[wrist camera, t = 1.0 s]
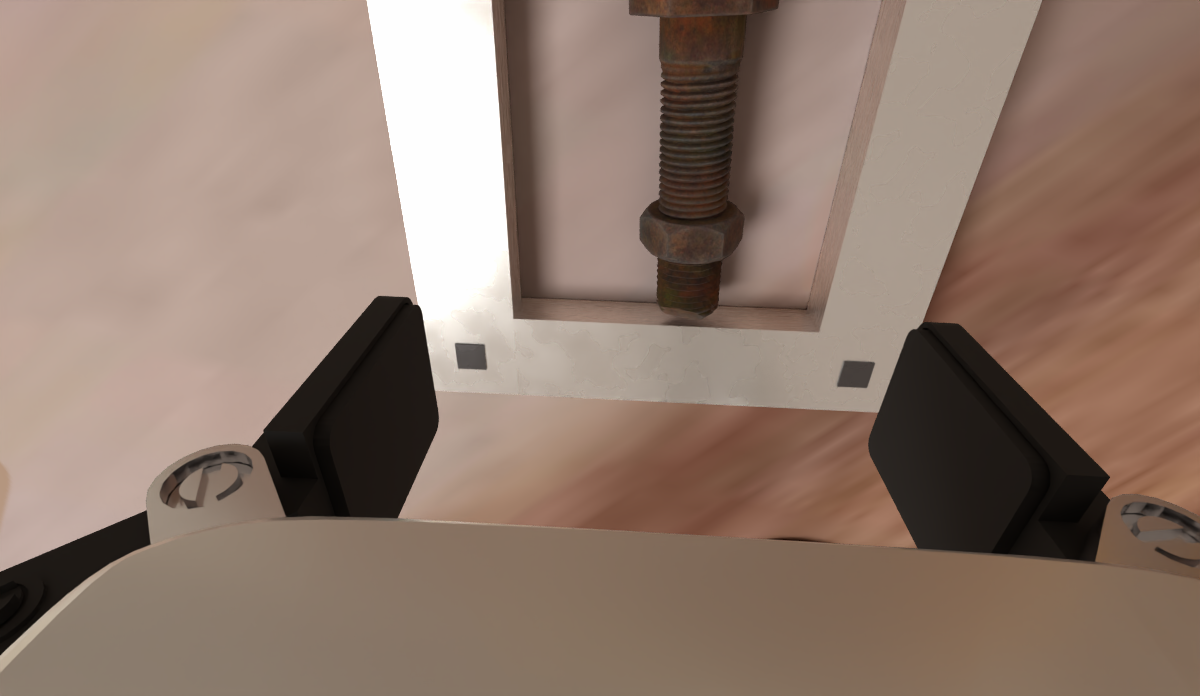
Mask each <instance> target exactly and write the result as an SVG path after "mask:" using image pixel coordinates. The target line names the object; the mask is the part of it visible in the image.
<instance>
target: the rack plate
mask: <svg viewBox="0 0 1200 696" xmlns="http://www.w3.org/2000/svg"><path fill="white" fill-rule="evenodd" d="M367 3H368V9H369V15H370V21H371V27H372V33H373V39H374V45H375V51H376V57H377V63H378V69H379V74H380V80H381V86H382V92H383V98H384V104H385V110H386V116H387V122H388V128H389V134H390V140H391V146H392V152H393V158H394V164H395V170H396V176H397V181H398V187H399V193H400V199H401V205H402V211H403V217H404V223H405V229H406V235H407V241H408V247H409V253H410V259H411V265H412V271H413V277H414V283H415V288H416V294H417V300H418V305H419V306H420V308H421V310H422V314H423V320H424V326H425V333H426V339H427V345H428V351H429V357H430V364H431V370H432V376H433V382H434V389H435V391H451V392H471V393H492V394H512V395H533V396H553V397H573V398H594V399H614V400H635V401H655V402H675V403H696V404H716V405H736V406H757V407H777V408H798V409H818V410H838V411H859V412H879V410H880V407H881V404H882V401H883V399H884V396H885V393H886V391H887V388H888V385H889V383H890V380H891V377H892V374H893V372H894V369H895V366H896V364H897V361H898V358H899V356H900V353H901V350H902V348H903V345H904V342H905V339H906V337H907V335H908V333H909V332H910V331H911V330H913V329H917V328H918V327H919V326H920V325H921V324H922V322H923V320H924V317H925V314H926V312H927V309H928V306H929V303H930V301H931V298H932V295H933V293H934V290H935V287H936V285H937V282H938V279H939V277H940V274H941V271H942V269H943V266H944V263H945V261H946V258H947V255H948V252H949V250H950V247H951V244H952V242H953V239H954V236H955V234H956V231H957V228H958V226H959V223H960V220H961V218H962V215H963V212H964V209H965V207H966V204H967V201H968V199H969V196H970V193H971V191H972V188H973V185H974V183H975V180H976V177H977V175H978V172H979V169H980V167H981V164H982V161H983V158H984V156H985V153H986V150H987V148H988V145H989V142H990V140H991V137H992V134H993V132H994V129H995V126H996V124H997V121H998V118H999V116H1000V113H1001V110H1002V107H1003V105H1004V102H1005V99H1006V97H1007V94H1008V91H1009V89H1010V86H1011V83H1012V81H1013V78H1014V75H1015V73H1016V70H1017V67H1018V65H1019V62H1020V59H1021V56H1022V54H1023V51H1024V48H1025V46H1026V43H1027V40H1028V38H1029V35H1030V32H1031V30H1032V27H1033V24H1034V22H1035V19H1036V16H1037V13H1038V11H1039V8H1040V5H1041V3H1042V0H882V4H881V8H880V12H879V16H878V20H877V24H876V28H875V32H874V37H873V41H872V45H871V49H870V53H869V57H868V61H867V65H866V69H865V73H864V77H863V82H862V86H861V90H860V94H859V98H858V102H857V106H856V110H855V114H854V118H853V123H852V127H851V131H850V135H849V139H848V143H847V147H846V151H845V155H844V159H843V163H842V168H841V172H840V176H839V180H838V184H837V188H836V192H835V196H834V200H833V204H832V208H831V213H830V217H829V221H828V225H827V229H826V233H825V237H824V241H823V245H822V249H821V253H820V258H819V262H818V266H817V270H816V274H815V278H814V282H813V286H812V290H811V294H810V299H809V303H808V307H807V310H800V309H777V308H754V307H730V306H718V308H717V309H716V310H714V311H713V312H714V313H712V314H710V315H708V316H707V317H705V318H703V319H700V320H694V319H688V318H682V317H677V316H672V315H667V314H665V313H663V312H662V311H661V309H660V308H659V307H660V306H659V305H658V304H657V303H638V302H615V301H592V300H569V299H546V298H523V297H521V283H520V266H519V249H518V232H517V215H516V198H515V181H514V163H513V146H512V129H511V112H510V95H509V78H508V61H507V44H506V27H505V10H504V0H367Z"/></svg>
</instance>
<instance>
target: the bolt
mask: <svg viewBox="0 0 1200 696" xmlns="http://www.w3.org/2000/svg"><path fill="white" fill-rule="evenodd" d="M778 4H779V0H629V14H630V15H638V16H652V17H660V42H659V59H660V61H661V68H662V70H663V72H662V74H661V77H662V78H663V79H665V80H664V81H662V82H661V86H662V87H663V88H665V89H663V90H662V91H661V95H663V96H664V98H662V99H661V100H660V102H661V103H662V104H663V105H664V106H662V107H661V112H662V113H664V114H662V115H661V117H660V119H661V121H662V122H663V123H661V124H660V129H661V130H662V131H661V132H660V137H661V138H662V139H660V144H661V145H662V146H661V147H660V152H662V154H660V156H659V157H660V159H661V160H662V161H661V162H660V163H659V166H660V167H661V169H660V171H659V174H661V176H660V179H659V181H660V182H661V183H660V185H659V188H660V189H661V190H660V191H659V195H660V196H661V197H660V198H659V200H656V201H654V202H653V203H651V204H650V205H649V206H648V207H647V208H646V209H645V211H644V212H643V214H642V215H641V217H640V240H641V242H642V243H643V244H644V246H645V247H646V249H647V250H648V251H649V252H650V253H651V254H653V255H654V256H656V257H658V258H657V259H658V265H657V267H658V269H657V272H658V275H657V278H658V281H657V285H658V286H657V298H658V300H657V304H658V305H659V306H660V307H659V308H660V309H661V311H662V312H663V313H665V314H667V315H672V316H677V317H682V318H688V319H694V320H700V319H703V318H705V317H707V316H708V315H710V314H712V313H714V312H713V311H714V310H716V309H717V308H718V301H719V297H718V296H719V292H718V291H719V284H720V277H721V275H720V273H721V265H722V262H721V261H722V259H724V258H726V257H728V256H729V255H730V254H731V253H732V252H733V251H734V250H735V249H736V247H737V246H738V244H739V242H740V241H741V239H742V235H743V226H744V215H743V213H742V212H741V211H740V210H739V209H738V208H737V207H736V205H734V204H733V203H732V202H730V201H727V199H728V196H727V193H728V191H729V190H728V188H727V187H728V186H729V181H728V179H729V177H730V175H729V171H730V168H731V167H730V162H731V158H730V156H731V154H732V151H731V150H730V149H731V148H732V146H733V144H732V142H731V141H732V139H733V135H732V134H731V133H732V132H733V126H732V124H733V122H734V118H733V116H734V114H735V111H734V109H733V108H734V107H736V102H735V101H734V99H736V98H737V94H736V92H734V91H736V90H737V88H738V85H737V84H736V83H735V82H737V81H738V79H739V78H738V75H736V73H738V72H739V68H740V60H741V59H742V57H743V49H744V39H745V28H746V18H747V14H755V13H760V12H765V11H769V10H774V9H777V8H778Z"/></svg>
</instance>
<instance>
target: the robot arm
mask: <svg viewBox="0 0 1200 696" xmlns="http://www.w3.org/2000/svg"><path fill="white" fill-rule="evenodd" d="M438 422H439V414H438V407H437V401H436V395H435V389H434V382H433V376H432V370H431V364H430V357H429V351H428V345H427V339H426V333H425V326H424V320H423V314H422V310H421V308H420V306H419V305H413V303H412V301H411V299H409V298H408V297H390V296H378V297H376V298H375V299H374V300H373V302H372V303H371V304H370V305H369V306H368V307H367V309H366V310H365V311H364V312H363V313H362V315H361V316H360V317H359V318H358V319H357V320H356V322H355V323H354V324H353V325H352V326H351V328H350V329H349V330H348V331H347V332H346V333H345V335H344V336H343V337H342V338H341V339H340V340H339V342H338V343H337V344H336V345H335V346H334V348H333V349H332V350H331V351H330V352H329V353H328V355H327V356H326V357H325V358H324V359H323V361H322V362H321V363H320V364H319V365H318V366H317V368H316V369H315V370H314V371H313V372H312V373H311V375H310V376H309V377H308V378H307V379H306V381H305V382H304V383H303V384H302V385H301V386H300V388H299V389H298V390H297V391H296V392H295V394H294V395H293V396H292V397H291V398H290V399H289V401H288V402H287V403H286V404H285V405H284V406H283V408H282V409H281V410H280V411H279V412H278V414H277V415H276V416H275V417H274V418H273V419H272V421H271V422H270V423H269V424H268V425H267V426H266V428H265V429H264V430H263V431H264V433H263V434H262V435H261V437H260V438H259V439H258V440H257V441H256V442H255V444H254V445H253V446H252V447H251V446H248V445H241V444H227V445H217V446H214V447H210V448H206V449H202V450H199V451H197V452H195V453H192V454H190V455H188V456H185V457H183V458H182V459H180V460H178V461H177V462H175V463H173V464H172V465H170V466H169V467H167V468H166V469H165V470H164V471H163V472H162V473H161V474H160V475H158V476H157V477H156V478H155V480H154V481H153V483H152V484H151V486H150V487H149V489H148V492H147V497H146V507H147V510H146V511H144V512H142V513H139V514H137V515H134V516H132V517H130V518H127V519H125V520H123V521H120V522H118V523H115V524H113V525H111V526H108V527H106V528H104V529H101V530H99V531H96V532H94V533H92V534H89V535H87V536H84V537H82V538H80V539H77V540H75V541H73V542H70V543H68V544H65V545H63V546H61V547H58V548H56V549H54V550H51V551H49V552H46V553H44V554H42V555H39V556H37V557H35V558H32V559H30V560H27V561H25V562H23V563H20V564H18V565H16V566H13V567H11V568H8V569H6V570H4V571H1V572H0V696H1200V517H1199V516H1198V515H1196V514H1194V513H1192V512H1190V511H1188V510H1186V509H1184V508H1182V507H1179V506H1177V505H1175V504H1172V503H1169V502H1166V501H1164V500H1161V499H1158V498H1154V497H1149V496H1144V495H1139V494H1122V495H1119V496H1116V497H1113V498H1112V499H1111V500H1110V499H1109V498H1108V497H1107V496H1106V495H1105V494H1104V493H1103V492H1102V491H1101V489H1102V488H1103V487H1104V485H1105V484H1106V482H1107V481H1108V479H1109V478H1110V476H1109V475H1108V474H1107V473H1106V472H1105V471H1104V470H1103V469H1102V468H1101V467H1100V466H1099V465H1098V464H1097V463H1096V462H1095V461H1094V460H1093V459H1092V458H1091V457H1090V456H1089V455H1088V454H1087V453H1086V452H1085V451H1084V450H1083V449H1082V448H1081V447H1080V446H1079V445H1078V444H1077V443H1076V442H1075V441H1074V440H1073V439H1072V438H1071V437H1070V436H1069V435H1068V434H1067V433H1066V432H1065V431H1064V430H1063V429H1062V428H1061V427H1060V426H1059V425H1058V424H1057V423H1056V422H1055V421H1054V420H1053V419H1052V418H1051V417H1050V416H1049V415H1048V414H1047V413H1046V411H1045V410H1044V409H1043V408H1042V407H1041V406H1040V405H1039V404H1038V403H1037V402H1036V401H1035V400H1034V399H1033V398H1032V397H1031V396H1030V395H1029V394H1028V393H1027V392H1026V391H1025V390H1024V389H1023V388H1022V387H1021V386H1020V385H1019V384H1018V383H1017V382H1016V381H1015V380H1014V379H1013V378H1012V377H1011V376H1010V375H1009V374H1008V373H1007V372H1006V371H1005V370H1004V369H1003V368H1002V367H1001V366H1000V365H999V364H998V363H997V362H996V361H995V360H994V359H993V358H992V357H991V356H990V355H989V354H988V353H987V352H986V351H985V350H984V349H983V348H982V347H981V345H980V344H979V343H978V342H977V341H976V340H975V339H974V338H973V337H972V336H971V335H970V334H969V333H968V332H967V331H966V330H965V329H964V328H963V327H962V326H960V325H959V324H955V323H934V322H924V323H922V324H921V325H920V326H919V327H918V328H917V329H913V330H911V331H910V332H909V333H908V335H907V337H906V339H905V342H904V345H903V348H902V350H901V353H900V356H899V358H898V361H897V364H896V366H895V369H894V372H893V374H892V377H891V380H890V383H889V385H888V388H887V391H886V393H885V396H884V399H883V401H882V404H881V407H880V410H879V412H878V415H877V418H876V420H875V423H874V426H873V428H872V431H871V434H870V437H869V443H868V446H869V453H870V456H871V458H872V460H873V462H874V464H875V466H876V468H877V470H878V472H879V474H880V476H881V478H882V479H883V481H884V483H885V485H886V487H887V489H888V491H889V493H890V495H891V497H892V499H893V501H894V503H895V505H896V507H897V509H898V511H899V513H900V515H901V517H902V519H903V521H904V522H905V524H906V526H907V528H908V530H909V532H910V534H911V536H912V538H913V540H914V542H915V544H916V546H917V548H918V549H915V548H900V547H884V546H869V545H853V544H837V543H820V542H804V541H788V540H771V539H755V538H738V537H721V536H705V535H688V534H670V533H653V532H636V531H619V530H601V529H584V528H566V527H548V526H529V525H511V524H492V523H474V522H455V521H437V520H418V519H400V518H398V516H399V514H400V512H401V509H402V507H403V505H404V503H405V501H406V498H407V496H408V494H409V492H410V489H411V487H412V485H413V483H414V481H415V478H416V476H417V474H418V472H419V469H420V467H421V465H422V463H423V461H424V458H425V456H426V454H427V452H428V450H429V447H430V445H431V443H432V441H433V438H434V436H435V434H436V431H437V428H438Z"/></svg>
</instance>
